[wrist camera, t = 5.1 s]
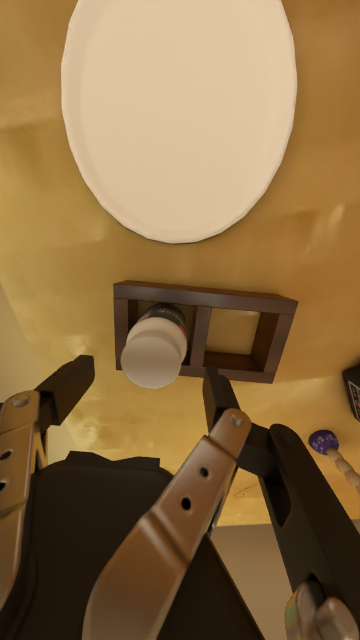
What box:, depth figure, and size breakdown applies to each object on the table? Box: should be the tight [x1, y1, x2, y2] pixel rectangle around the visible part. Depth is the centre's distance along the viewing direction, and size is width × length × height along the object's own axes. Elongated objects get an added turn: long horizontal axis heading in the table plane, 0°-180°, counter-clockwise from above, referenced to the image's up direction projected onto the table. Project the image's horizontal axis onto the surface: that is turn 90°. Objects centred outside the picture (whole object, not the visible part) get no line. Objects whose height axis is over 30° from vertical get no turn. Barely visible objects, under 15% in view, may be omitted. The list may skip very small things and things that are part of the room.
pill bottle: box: [121, 303, 187, 389], centre depth 17 cm, size 6×6×10 cm
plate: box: [61, 0, 298, 244], centre depth 15 cm, size 21×21×1 cm
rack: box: [113, 280, 298, 384], centre depth 20 cm, size 10×19×4 cm, turn 85°
